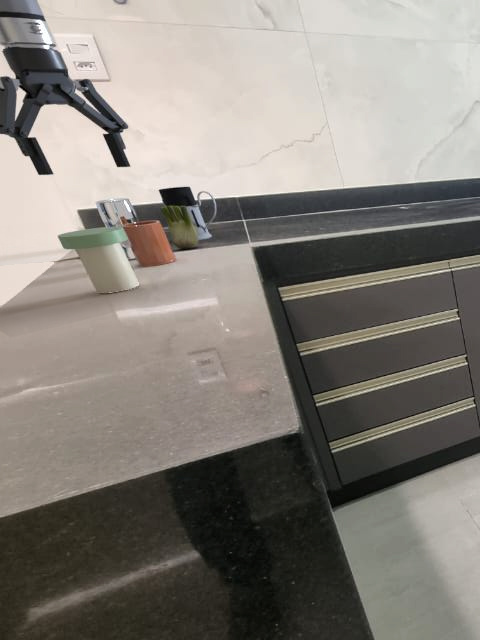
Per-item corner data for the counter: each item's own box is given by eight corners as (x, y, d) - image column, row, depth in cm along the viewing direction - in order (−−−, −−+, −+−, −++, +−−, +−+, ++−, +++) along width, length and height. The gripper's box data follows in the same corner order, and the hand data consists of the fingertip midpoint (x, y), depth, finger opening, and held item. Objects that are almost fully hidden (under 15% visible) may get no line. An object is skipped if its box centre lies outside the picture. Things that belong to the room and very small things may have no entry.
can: (103, 296, 111) (79, 248, 106) (92, 291, 114) (69, 245, 110) (144, 286, 116) (123, 241, 112) (133, 282, 119) (112, 238, 115)
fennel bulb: (205, 246, 152) (188, 203, 147) (189, 250, 148) (171, 207, 143) (188, 246, 153) (170, 204, 148) (172, 250, 149) (153, 207, 144)
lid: (72, 251, 104) (65, 238, 103) (57, 246, 109) (50, 234, 108) (135, 240, 112) (129, 228, 111) (118, 236, 117) (113, 225, 116)
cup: (145, 267, 132) (127, 227, 127) (134, 264, 135) (116, 225, 131) (181, 260, 137) (164, 221, 133) (169, 257, 141) (153, 219, 137)
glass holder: (189, 236, 168) (168, 187, 161) (236, 233, 169) (218, 184, 162) (170, 242, 160) (148, 191, 153) (219, 239, 161) (199, 188, 155)
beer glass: (137, 254, 147) (111, 198, 140) (161, 253, 146) (136, 197, 140) (114, 260, 140) (86, 202, 134) (138, 260, 140) (112, 201, 134)
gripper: (-49, 39, 85) (23, 178, 94) (119, 52, 107) (164, 163, 116) (-81, 43, 86) (-7, 178, 96) (92, 54, 108) (138, 164, 117)
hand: (87, 170), depth 106 cm, fingers open, 13 cm apart
